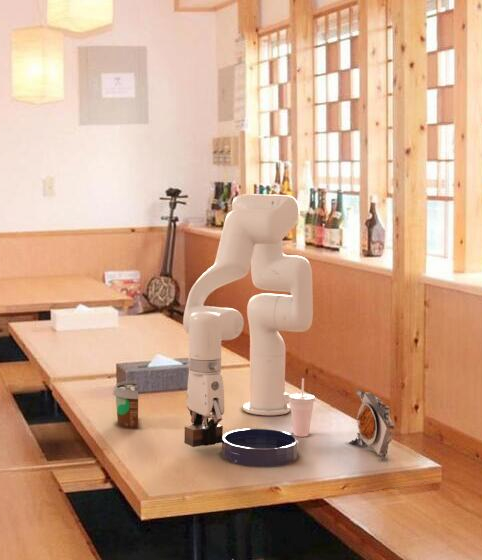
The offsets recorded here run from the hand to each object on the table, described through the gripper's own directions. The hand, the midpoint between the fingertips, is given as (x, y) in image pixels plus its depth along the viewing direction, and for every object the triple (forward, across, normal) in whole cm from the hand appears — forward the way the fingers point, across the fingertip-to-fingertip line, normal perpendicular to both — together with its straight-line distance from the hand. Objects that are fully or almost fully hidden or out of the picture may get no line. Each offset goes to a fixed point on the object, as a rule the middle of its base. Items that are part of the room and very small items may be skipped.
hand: (203, 441), depth 245 cm
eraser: (0, 0, 0) cm, 0 cm away
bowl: (+2, -10, -9) cm, 14 cm away
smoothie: (+2, 0, -28) cm, 28 cm away
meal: (+2, -19, -34) cm, 39 cm away
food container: (+2, +29, +6) cm, 30 cm away
